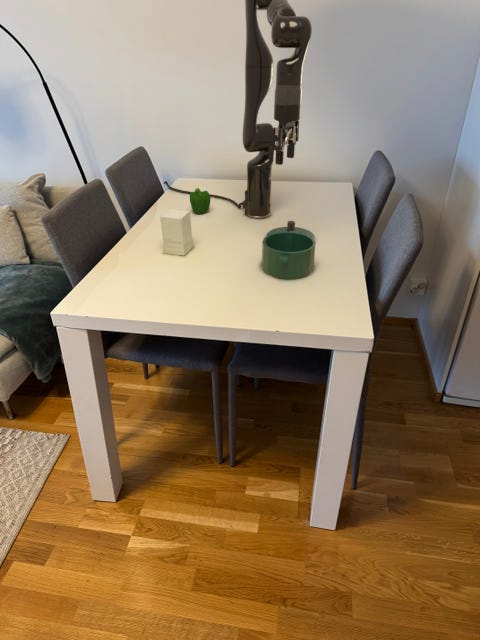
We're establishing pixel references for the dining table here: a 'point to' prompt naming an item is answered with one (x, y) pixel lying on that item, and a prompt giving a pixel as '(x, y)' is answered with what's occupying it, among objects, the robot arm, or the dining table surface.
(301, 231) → the lid
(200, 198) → the bell pepper
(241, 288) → the dining table surface
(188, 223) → the white packaging box
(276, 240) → the pot
